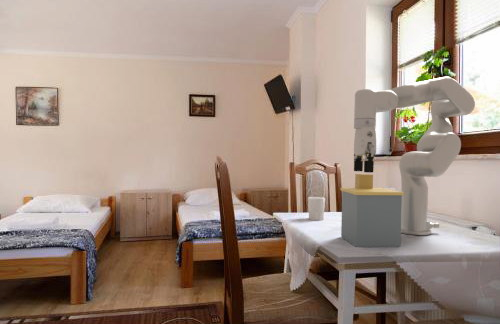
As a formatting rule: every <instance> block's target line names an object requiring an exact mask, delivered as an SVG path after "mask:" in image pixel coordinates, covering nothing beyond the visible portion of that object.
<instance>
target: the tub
mask: <svg viewBox="0 0 500 324" xmlns="http://www.w3.org/2000/svg"><path fill="white" fill-rule="evenodd" d="M401 206H402V195H354V194H351V193H348V192H344V191H341V227H340V228H341V232H340V235H341V238H342V239H344V240H345V241H347V242H348V243H349V244H351V245H352V246H354V247H355V246H356V248H387V247H388V248H391V247H393V248H394V247H395V248H397V247H398V248H399V247H401V242H402V233H401Z"/></svg>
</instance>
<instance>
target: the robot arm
mask: <svg viewBox="0 0 500 324" xmlns="http://www.w3.org/2000/svg"><path fill="white" fill-rule="evenodd" d="M430 102H431V104H430V115H431V125H430V126H429V128H428V129H427V130H426V132H424V134H423V135H422V136H421V138H420V139H419V140H418V142H417V145H416V151H414V150H413V151H409V152H407V151H406V152H405V153H404V154H402V155H401V156H400V159H399V160H398V161H399V163H398V164H399V165H398V166H399V173H400V177H401V179H400V181H401V182H400V183H401V190H400V192H404V195H402V206H401V234H405V235H411V236H429V235H431V234H432V230H431V229H432V228H433V229H439V228H440V223H439V222H433V223H432V222H431V221H429V220H428V201H429V200H428V197H429V196H428V195H429V187H428V183H427V180H426V179H425V177H427V178H438V177H441V176H442V175H444V173H446V171H447V170H448V169H449V168H450V166H451V165H452V164H453V162H454V161H455V160H456V158H457V157H458V155H459V154H460V152H461V147H462V141H461V138H460V137H459V135H457V134H456V133H454V128H453V125H452V123H451V121H450V119H449V117H460V116H461V117H462V116H468V115H470V114H471V113H473V111H474V110H475V107H476V101H475V98H474V97H473V96H472V94H471V93H470V91H468V90H467V89H466V88H465V87H463V85H462V84H460V83H459V81H457V80H455V79H454V78H452V77H450V76H443V77H437V78H433V79H428V80H422V81H417V82H414V83H413V82H412V83H409V84H403V85H400V86H396V87H393V88H389V89H385V90H374V89H371V88H370V89H368V88H367V89H366V88H364V89H358V90H357V91H355V94H354V113H353V129H355V130H354V131H355V132H354V139H353V140H354V143H353V153H354V154H353V171H354V172H363V173H369V174H370V173H374V164H375V163H374V162H375V156H376V155H377V133H376V127H377V113H384V112H386V113H387V112H389V111H393V110H394V109H404V108H408V107H409V108H411V107H414V106H418V105H423V104H426V103H430ZM363 158H364V161H363Z"/></svg>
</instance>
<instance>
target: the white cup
mask: <svg viewBox="0 0 500 324" xmlns="http://www.w3.org/2000/svg"><path fill="white" fill-rule="evenodd" d="M325 205H326V197H322V196H308V197H307V210H308V211H307V212H308V220H310V221H323V220H324V216H325V215H324V214H325V207H326V206H325Z"/></svg>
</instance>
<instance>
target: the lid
mask: <svg viewBox="0 0 500 324" xmlns="http://www.w3.org/2000/svg"><path fill="white" fill-rule="evenodd" d="M354 178H355V179H354V183H355V184H354V187H340V189H339V190H340V191H341V192H342V191H344V192H348V193H351V194H354V195H404V192H401V190H400V191H399V190H396V189H395V190H394V189H389V188H385V187H374V174H370V173H355V175H354Z"/></svg>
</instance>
